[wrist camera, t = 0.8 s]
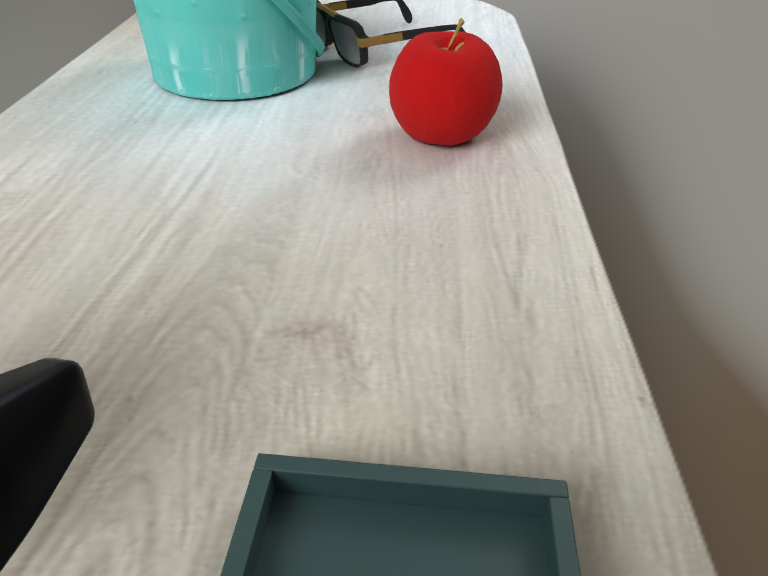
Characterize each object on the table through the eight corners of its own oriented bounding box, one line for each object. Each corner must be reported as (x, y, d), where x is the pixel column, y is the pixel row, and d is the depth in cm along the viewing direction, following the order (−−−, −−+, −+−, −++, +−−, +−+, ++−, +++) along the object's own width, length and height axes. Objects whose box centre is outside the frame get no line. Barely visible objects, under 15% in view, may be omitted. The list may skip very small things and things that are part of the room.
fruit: (409, 166, 51) (415, 37, 45) (375, 121, 58) (376, 4, 52) (513, 152, 53) (532, 28, 47) (469, 111, 60) (480, -3, 54)
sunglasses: (472, 54, 73) (477, 8, 70) (352, 75, 67) (351, 25, 64) (410, 22, 83) (412, -19, 80) (301, 38, 77) (298, -7, 74)
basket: (146, 49, 73) (120, -81, 65) (306, 38, 77) (299, -85, 69) (147, 115, 58) (112, -42, 50) (343, 97, 62) (339, -51, 54)
